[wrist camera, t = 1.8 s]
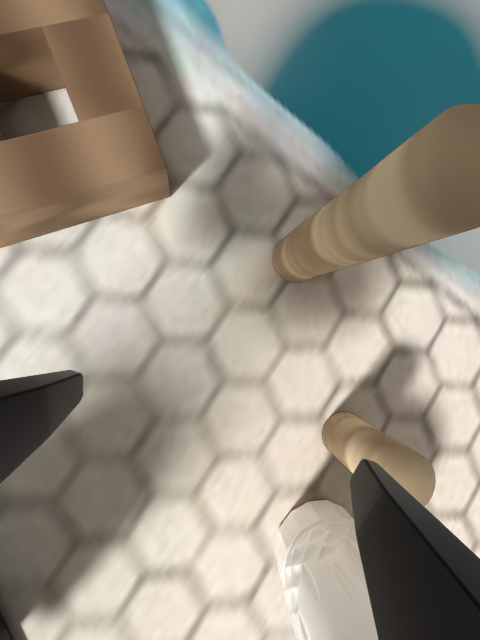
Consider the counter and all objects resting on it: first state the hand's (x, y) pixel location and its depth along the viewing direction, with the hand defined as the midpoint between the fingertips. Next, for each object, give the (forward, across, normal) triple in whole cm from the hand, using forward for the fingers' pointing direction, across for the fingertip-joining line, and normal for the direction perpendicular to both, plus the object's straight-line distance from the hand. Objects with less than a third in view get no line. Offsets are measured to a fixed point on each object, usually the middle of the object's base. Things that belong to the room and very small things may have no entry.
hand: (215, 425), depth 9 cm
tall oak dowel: (+16, +2, +3) cm, 16 cm away
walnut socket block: (+13, -16, +7) cm, 22 cm away
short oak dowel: (+12, +9, -9) cm, 17 cm away
